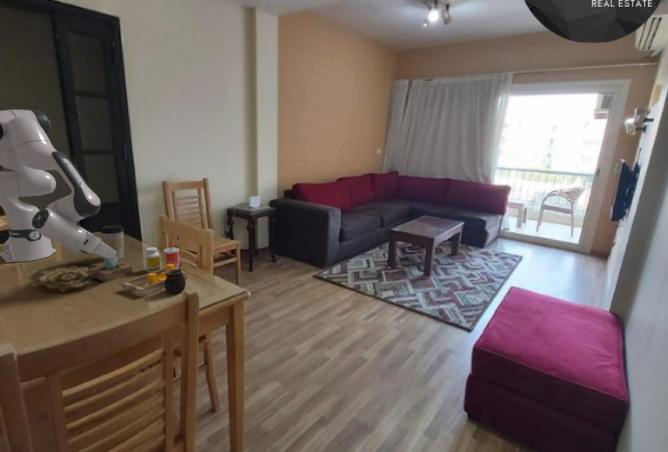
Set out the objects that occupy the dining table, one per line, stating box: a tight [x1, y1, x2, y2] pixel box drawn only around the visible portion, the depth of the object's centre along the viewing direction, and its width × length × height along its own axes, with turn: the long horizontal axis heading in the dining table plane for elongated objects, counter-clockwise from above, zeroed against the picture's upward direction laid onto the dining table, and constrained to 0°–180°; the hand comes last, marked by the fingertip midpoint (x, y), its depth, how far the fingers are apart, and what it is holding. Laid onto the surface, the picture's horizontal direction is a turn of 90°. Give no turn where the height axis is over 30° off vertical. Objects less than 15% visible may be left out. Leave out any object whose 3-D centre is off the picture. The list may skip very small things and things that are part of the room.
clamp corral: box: [121, 267, 188, 298], centre depth 135 cm, size 11×19×3 cm, turn 153°
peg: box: [103, 258, 116, 271], centre depth 142 cm, size 4×4×10 cm
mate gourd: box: [164, 262, 187, 295], centre depth 130 cm, size 7×8×10 cm
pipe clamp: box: [146, 264, 175, 286], centre depth 136 cm, size 12×4×6 cm, turn 166°
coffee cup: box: [100, 224, 125, 260], centre depth 161 cm, size 9×9×15 cm
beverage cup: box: [163, 238, 180, 269], centre depth 149 cm, size 6×6×14 cm
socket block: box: [88, 261, 133, 283], centre depth 143 cm, size 11×11×3 cm
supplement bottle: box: [144, 247, 161, 273], centre depth 148 cm, size 5×5×10 cm
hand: (109, 257), depth 142 cm, fingers open, 8 cm apart
